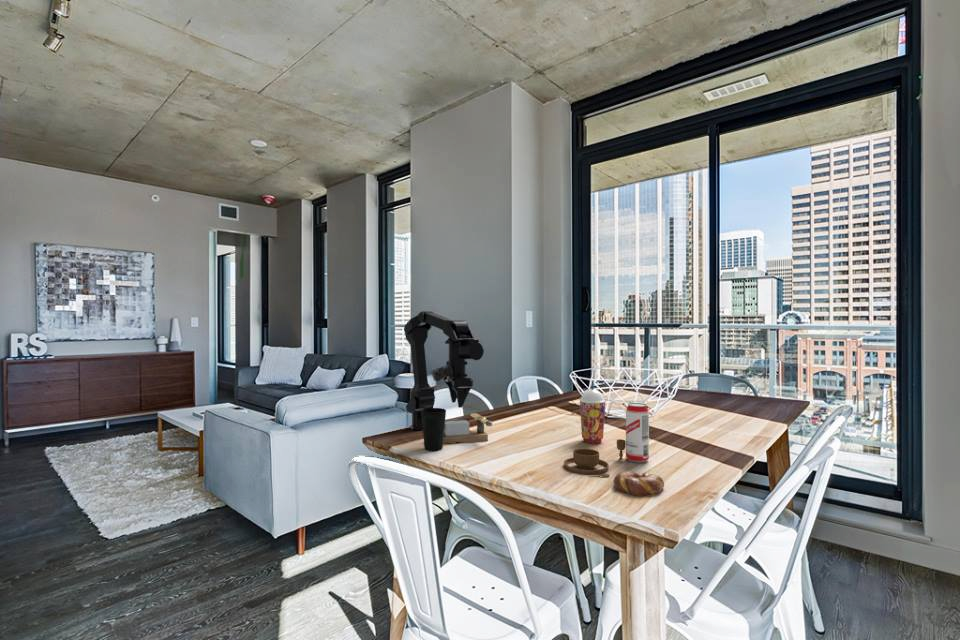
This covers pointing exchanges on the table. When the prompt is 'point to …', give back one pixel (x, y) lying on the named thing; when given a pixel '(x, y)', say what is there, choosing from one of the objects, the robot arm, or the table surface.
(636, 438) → the beer can
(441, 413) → the cup
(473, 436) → the plane body
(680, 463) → the table surface
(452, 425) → the grey block
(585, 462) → the place setting
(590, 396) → the smoothie
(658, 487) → the pretzel
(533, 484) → the table surface
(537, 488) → the table surface
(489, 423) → the lever
